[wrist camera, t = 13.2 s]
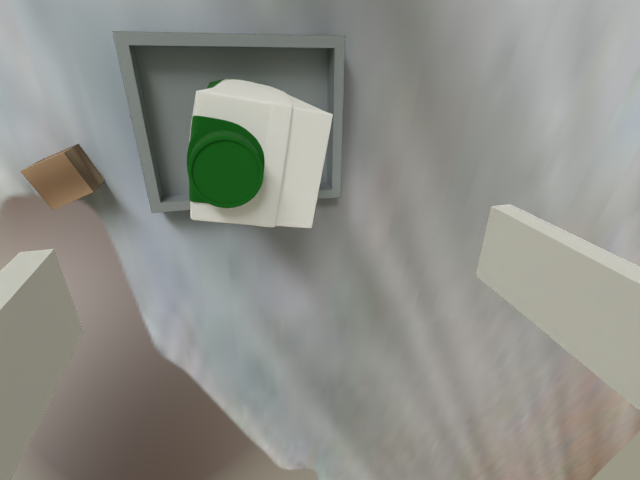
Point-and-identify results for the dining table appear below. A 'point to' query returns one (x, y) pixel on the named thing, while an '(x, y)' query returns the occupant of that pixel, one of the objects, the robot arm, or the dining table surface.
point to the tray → (211, 65)
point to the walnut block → (64, 177)
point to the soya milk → (255, 155)
